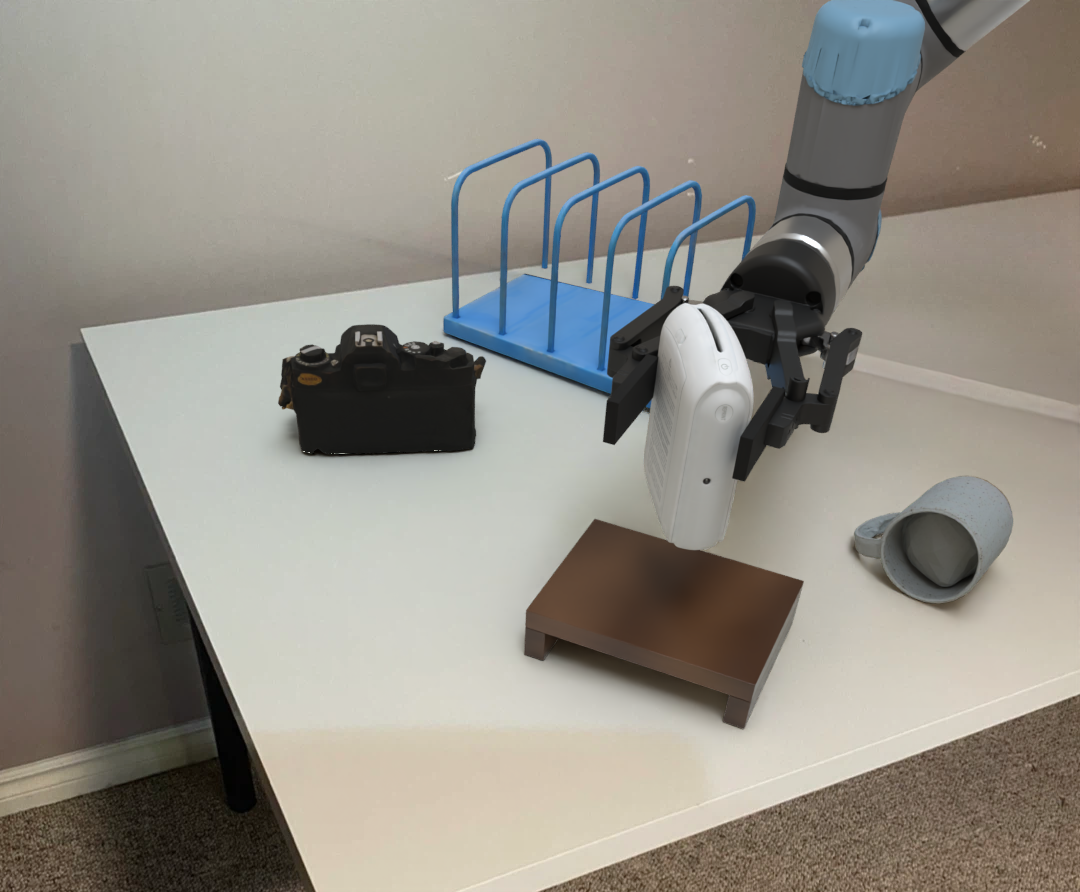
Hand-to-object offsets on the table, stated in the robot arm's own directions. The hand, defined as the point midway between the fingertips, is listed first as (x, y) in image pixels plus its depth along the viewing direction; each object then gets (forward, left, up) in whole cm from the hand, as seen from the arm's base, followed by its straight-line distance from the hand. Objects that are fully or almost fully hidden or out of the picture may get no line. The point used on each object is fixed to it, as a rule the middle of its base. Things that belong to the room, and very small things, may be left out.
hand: (675, 440), depth 61 cm
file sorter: (+22, -43, -18) cm, 52 cm away
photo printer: (0, -5, -8) cm, 9 cm away
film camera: (+32, -18, -18) cm, 41 cm away
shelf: (0, -4, -18) cm, 18 cm away
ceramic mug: (-15, -21, -18) cm, 31 cm away
